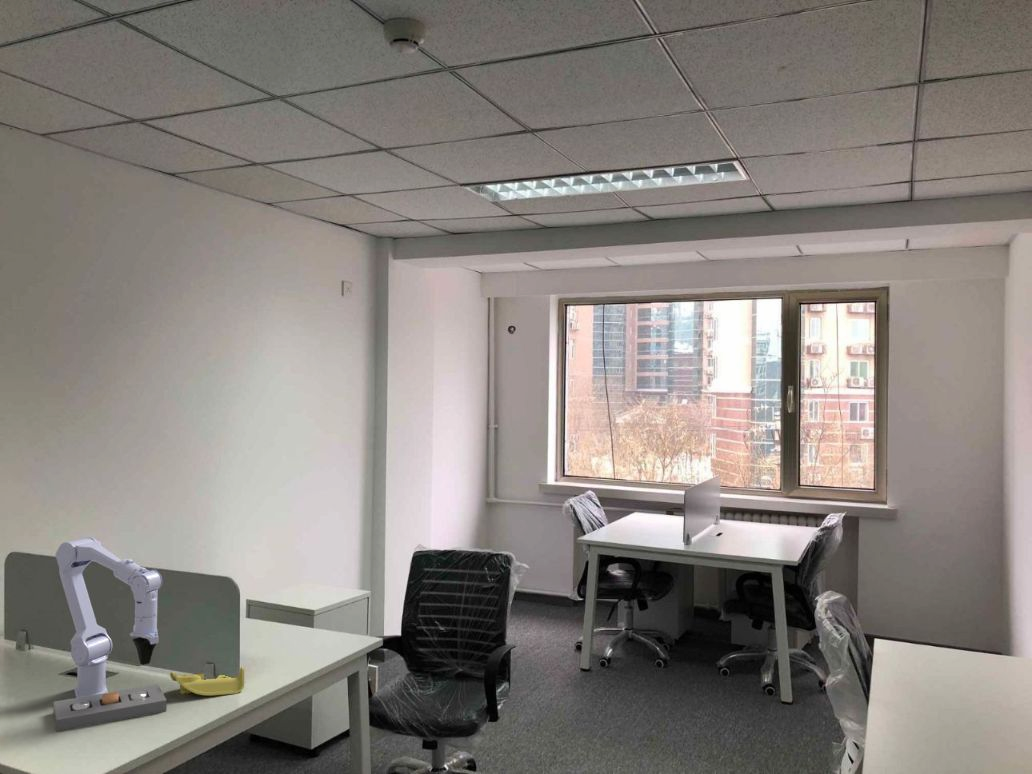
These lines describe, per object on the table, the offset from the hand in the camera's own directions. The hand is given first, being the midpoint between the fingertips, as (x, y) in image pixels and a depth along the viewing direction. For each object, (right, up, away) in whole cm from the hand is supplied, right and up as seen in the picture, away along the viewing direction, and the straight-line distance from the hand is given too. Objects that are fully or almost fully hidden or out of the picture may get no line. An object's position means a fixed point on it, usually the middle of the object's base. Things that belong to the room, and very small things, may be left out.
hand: (144, 663), depth 224 cm
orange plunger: (-6, -8, -8) cm, 13 cm away
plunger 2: (0, -9, -5) cm, 10 cm away
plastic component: (+14, -11, +9) cm, 20 cm away
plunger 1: (-11, -9, -12) cm, 19 cm away
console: (-6, -10, -8) cm, 14 cm away
